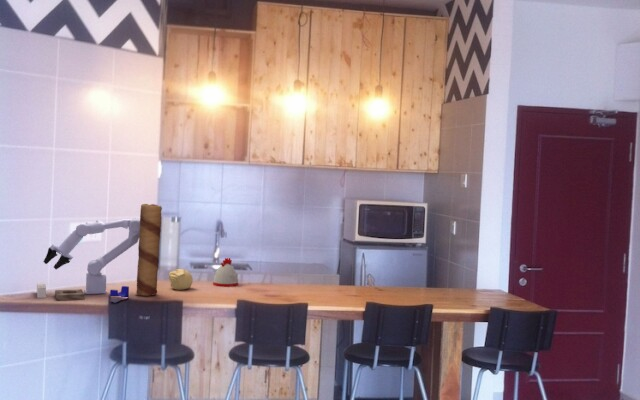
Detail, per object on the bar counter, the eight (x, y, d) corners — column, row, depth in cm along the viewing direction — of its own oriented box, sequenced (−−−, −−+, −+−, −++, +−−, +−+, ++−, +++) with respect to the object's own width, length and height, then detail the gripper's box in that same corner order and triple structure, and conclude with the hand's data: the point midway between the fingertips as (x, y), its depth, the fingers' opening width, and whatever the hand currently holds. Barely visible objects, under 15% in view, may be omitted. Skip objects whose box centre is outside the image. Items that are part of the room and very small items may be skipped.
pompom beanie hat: (243, 284, 363) (244, 258, 362) (226, 287, 351) (227, 260, 350) (224, 281, 370) (225, 255, 370) (207, 284, 358) (208, 257, 358)
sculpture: (165, 288, 342) (165, 267, 341) (185, 286, 350) (186, 266, 349) (175, 291, 333) (176, 270, 333) (196, 289, 341) (196, 269, 341)
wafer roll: (149, 291, 329) (153, 203, 327) (161, 295, 322) (165, 205, 320) (131, 293, 321) (135, 203, 319) (143, 297, 314) (147, 205, 312)
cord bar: (44, 292, 317) (44, 282, 316) (45, 298, 304) (46, 287, 304) (36, 293, 315) (37, 282, 315) (37, 298, 302) (37, 287, 302)
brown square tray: (81, 294, 315) (81, 289, 315) (84, 299, 304) (84, 294, 304) (55, 295, 310) (55, 290, 310) (57, 300, 298) (57, 295, 298)
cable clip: (119, 298, 311) (120, 285, 311) (128, 298, 310) (128, 286, 310) (106, 302, 299) (107, 289, 299) (115, 303, 298) (116, 290, 298)
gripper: (74, 245, 325) (55, 266, 322) (55, 234, 312) (35, 255, 310) (81, 252, 321) (62, 274, 319) (63, 241, 309) (43, 263, 306)
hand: (49, 265), depth 314 cm, fingers open, 7 cm apart
